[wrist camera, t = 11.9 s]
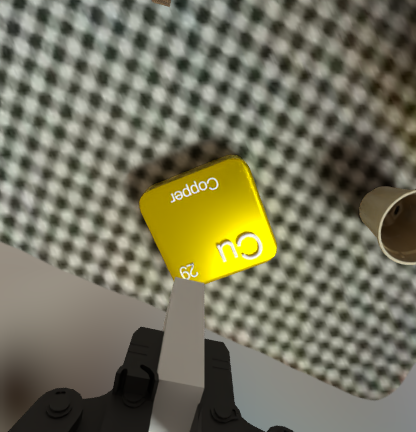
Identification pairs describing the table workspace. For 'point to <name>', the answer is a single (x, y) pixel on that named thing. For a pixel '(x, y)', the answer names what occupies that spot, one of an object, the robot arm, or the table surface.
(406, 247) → the flower pot
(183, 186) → the element tile
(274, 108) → the table surface
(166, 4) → the lane walls
